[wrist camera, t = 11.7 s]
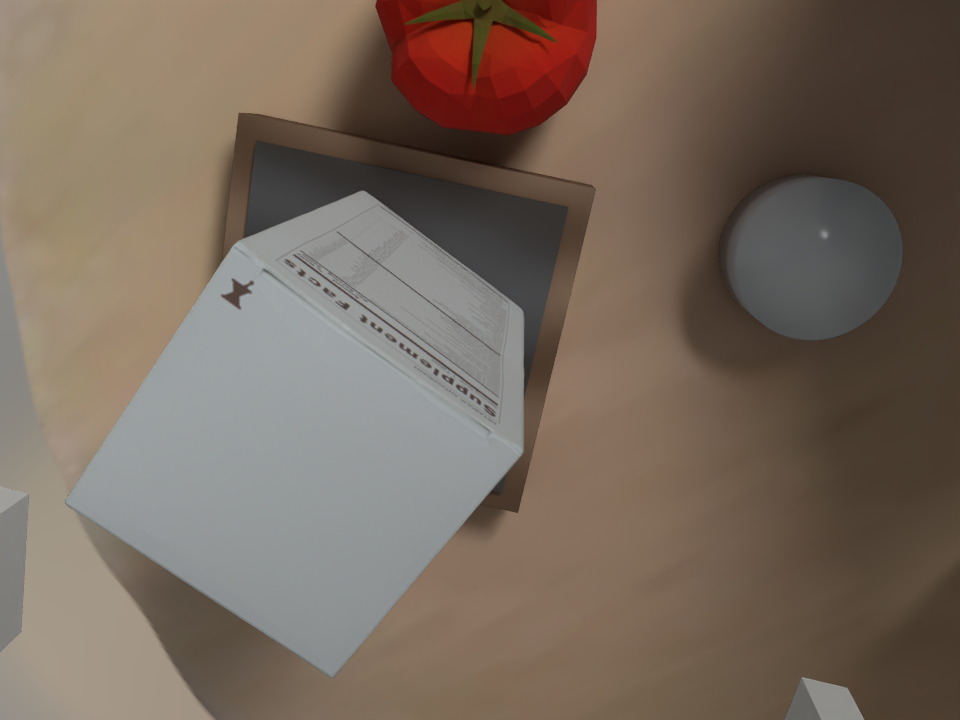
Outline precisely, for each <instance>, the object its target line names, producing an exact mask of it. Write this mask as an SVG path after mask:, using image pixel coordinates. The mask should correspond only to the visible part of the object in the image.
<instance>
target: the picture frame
mask: <svg viewBox="0 0 960 720" xmlns="http://www.w3.org/2000/svg"><path fill="white" fill-rule="evenodd" d="M362 190H363V191H365V192H367V193H368V194H370V195H371V196H373V197H374V198H376V199H377V200H378V201H380V202H381V203H382V204H384V205H385V206H386V207H388V208H389V209H390V210H392V211H393V212H394V213H395V214H397V215H398V216H399V217H401V218H402V219H403V220H405V221H406V222H407V223H409V224H410V225H411V226H413V227H414V228H415V229H417V230H418V231H419V232H421V233H422V234H423V235H425V236H426V237H427V238H429V239H430V240H431V241H433V242H434V243H435V244H437V245H438V246H439V247H441V248H442V249H443V250H445V251H446V252H447V253H449V254H450V255H451V256H453V257H454V258H455V259H457V260H458V261H459V262H461V263H462V264H464V265H465V266H466V267H468V268H469V269H470V270H472V271H473V272H474V273H476V274H477V275H478V276H480V277H481V278H482V279H484V280H485V281H486V282H488V283H489V284H490V285H492V286H493V287H494V288H496V289H497V290H498V291H499V292H501V293H502V294H503V295H505V296H506V297H507V298H509V299H510V300H511V301H512V302H514V303H515V304H516V305H517V306H519V307H520V308H521V309H522V310H523V312H524V359H523V361H524V450H523V454H522V456H521V457H520V458H519V460H518V461H517V462H516V463H515V464H514V465H513V467H512V468H511V469H510V470H509V471H508V472H507V473H506V475H505V476H504V477H503V478H502V479H501V480H500V482H499V483H498V484H497V485H496V486H495V487H494V488H493V490H492V491H491V492H490V493H489V494H488V495H487V496H486V498H485V499H484V500H483V501H482V502H481V503H480V505H484V506H488V507H493V508H498V509H502V510H507V511H512V512H516V513H518V510H519V506H520V502H521V498H522V494H523V490H524V485H525V481H526V477H527V473H528V469H529V465H530V461H531V456H532V452H533V448H534V444H535V440H536V436H537V431H538V427H539V423H540V419H541V415H542V411H543V407H544V402H545V398H546V394H547V390H548V386H549V382H550V378H551V373H552V369H553V365H554V361H555V357H556V353H557V348H558V344H559V340H560V336H561V332H562V328H563V324H564V319H565V315H566V311H567V307H568V303H569V299H570V294H571V290H572V286H573V282H574V278H575V274H576V270H577V265H578V261H579V257H580V253H581V249H582V245H583V241H584V236H585V232H586V228H587V224H588V220H589V216H590V211H591V207H592V203H593V199H594V195H595V191H596V189H595V188H594V187H593V186H592V185H588V184H584V183H579V182H574V181H570V180H565V179H560V178H555V177H551V176H546V175H541V174H537V173H532V172H527V171H523V170H518V169H513V168H509V167H504V166H499V165H495V164H490V163H485V162H480V161H476V160H471V159H466V158H462V157H457V156H452V155H448V154H443V153H438V152H434V151H429V150H424V149H420V148H415V147H410V146H406V145H401V144H396V143H391V142H387V141H382V140H377V139H373V138H368V137H363V136H359V135H354V134H349V133H345V132H340V131H335V130H331V129H326V128H321V127H316V126H312V125H307V124H302V123H298V122H293V121H288V120H284V119H279V118H274V117H270V116H265V115H260V114H251V113H239V116H238V124H237V133H236V142H235V151H234V159H233V168H232V177H231V186H230V194H229V203H228V212H227V221H226V230H225V238H224V247H223V256H222V261H223V260H224V258H225V257H226V255H227V254H228V252H229V251H230V249H231V248H232V246H233V245H234V244H235V243H236V242H237V241H239V240H242V239H244V238H246V237H249V236H252V235H254V234H257V233H259V232H262V231H264V230H266V229H269V228H271V227H274V226H276V225H279V224H281V223H284V222H286V221H288V220H291V219H293V218H296V217H298V216H301V215H304V214H306V213H309V212H311V211H314V210H316V209H318V208H320V207H323V206H325V205H328V204H330V203H333V202H336V201H338V200H340V199H342V198H345V197H347V196H350V195H352V194H355V193H357V192H359V191H362Z"/></svg>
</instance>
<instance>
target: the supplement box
mask: <svg viewBox="0 0 960 720" xmlns="http://www.w3.org/2000/svg"><path fill="white" fill-rule="evenodd" d="M523 359H524V312H523V310H522V309H521V308H520V307H519V306H517V305H516V304H515V303H514V302H512V301H511V300H510V299H509V298H507V297H506V296H505V295H503V294H502V293H501V292H499V291H498V290H497V289H496V288H494V287H493V286H492V285H490V284H489V283H488V282H486V281H485V280H484V279H482V278H481V277H480V276H478V275H477V274H476V273H474V272H473V271H472V270H470V269H469V268H468V267H466V266H465V265H464V264H462V263H461V262H459V261H458V260H457V259H455V258H454V257H453V256H451V255H450V254H449V253H447V252H446V251H445V250H443V249H442V248H441V247H439V246H438V245H437V244H435V243H434V242H433V241H431V240H430V239H429V238H427V237H426V236H425V235H423V234H422V233H421V232H419V231H418V230H417V229H415V228H414V227H413V226H411V225H410V224H409V223H407V222H406V221H405V220H403V219H402V218H401V217H399V216H398V215H397V214H395V213H394V212H393V211H392V210H390V209H389V208H388V207H386V206H385V205H384V204H382V203H381V202H380V201H378V200H377V199H376V198H374V197H373V196H371V195H370V194H368V193H367V192H365V191H363V190H362V191H359V192H357V193H355V194H352V195H350V196H347V197H345V198H342V199H340V200H338V201H336V202H333V203H330V204H328V205H325V206H323V207H320V208H318V209H316V210H314V211H311V212H309V213H306V214H304V215H301V216H298V217H296V218H293V219H291V220H288V221H286V222H284V223H281V224H279V225H276V226H274V227H271V228H269V229H266V230H264V231H262V232H259V233H257V234H254V235H252V236H249V237H246V238H244V239H242V240H239V241H237V242H236V243H235V244H234V245H233V246H232V248H231V249H230V251H229V252H228V254H227V255H226V257H225V258H224V260H223V261H222V263H221V264H220V266H219V267H218V269H217V270H216V272H215V273H214V275H213V276H212V278H211V280H210V281H209V283H208V284H207V286H206V287H205V289H204V290H203V292H202V293H201V295H200V296H199V298H198V299H197V301H196V302H195V304H194V305H193V307H192V308H191V310H190V311H189V313H188V314H187V316H186V318H185V319H184V321H183V322H182V324H181V325H180V327H179V328H178V330H177V331H176V333H175V334H174V336H173V337H172V339H171V340H170V342H169V343H168V345H167V346H166V348H165V349H164V351H163V352H162V354H161V356H160V357H159V359H158V360H157V362H156V363H155V365H154V366H153V368H152V369H151V371H150V372H149V374H148V375H147V377H146V378H145V380H144V381H143V383H142V384H141V386H140V388H139V389H138V391H137V392H136V394H135V395H134V397H133V398H132V400H131V401H130V403H129V404H128V406H127V407H126V409H125V410H124V412H123V413H122V415H121V416H120V418H119V419H118V421H117V422H116V424H115V426H114V427H113V429H112V430H111V432H110V433H109V435H108V436H107V438H106V439H105V441H104V442H103V444H102V445H101V447H100V448H99V450H98V451H97V453H96V454H95V456H94V457H93V459H92V460H91V462H90V463H89V465H88V466H87V468H86V469H85V471H84V473H83V474H82V476H81V477H80V479H79V480H78V482H77V483H76V485H75V487H74V488H73V489H72V491H71V492H70V494H69V495H68V497H67V498H66V499H65V504H66V505H67V506H68V507H70V508H71V509H73V510H75V511H76V512H78V513H79V514H81V515H83V516H84V517H86V518H87V519H89V520H90V521H92V522H94V523H95V524H97V525H98V526H100V527H101V528H103V529H105V530H106V531H108V532H109V533H111V534H112V535H114V536H115V537H117V538H118V539H120V540H121V541H123V542H125V543H126V544H128V545H129V546H131V547H132V548H134V549H135V550H137V551H138V552H140V553H141V554H143V555H145V556H146V557H148V558H149V559H151V560H152V561H154V562H155V563H157V564H158V565H160V566H161V567H163V568H164V569H166V570H168V571H169V572H171V573H172V574H174V575H175V576H177V577H178V578H180V579H181V580H183V581H184V582H186V583H187V584H189V585H190V586H192V587H193V588H195V589H196V590H198V591H199V592H201V593H202V594H204V595H205V596H207V597H209V598H210V599H212V600H213V601H215V602H216V603H218V604H219V605H221V606H222V607H224V608H225V609H227V610H229V611H230V612H232V613H233V614H235V615H236V616H238V617H240V618H241V619H243V620H244V621H246V622H247V623H249V624H250V625H252V626H253V627H255V628H256V629H258V630H259V631H261V632H262V633H264V634H266V635H267V636H269V637H270V638H272V639H273V640H275V641H276V642H278V643H280V644H281V645H283V646H284V647H286V648H287V649H289V650H290V651H291V652H293V653H294V654H296V655H297V656H299V657H300V658H302V659H303V660H305V661H306V662H308V663H309V664H311V665H312V666H314V667H315V668H317V669H318V670H320V671H321V672H323V673H324V674H326V675H327V676H328V677H330V678H334V676H335V675H336V674H337V673H338V672H339V670H340V669H341V668H342V667H343V666H344V664H345V663H346V662H347V661H348V660H349V659H350V657H351V656H352V655H353V654H354V653H355V651H356V650H357V649H358V648H359V647H360V646H361V644H362V643H363V642H364V641H365V640H366V638H367V637H368V636H369V635H370V634H371V632H372V631H373V630H374V629H375V628H376V626H377V625H378V624H379V623H380V622H381V620H382V619H383V618H384V617H385V616H386V614H387V613H388V612H389V611H390V610H391V608H392V607H393V606H394V605H395V604H396V602H397V601H398V600H399V599H400V598H401V596H402V595H403V594H404V593H405V592H406V591H407V589H408V588H409V587H410V586H411V585H412V583H413V582H414V581H415V580H416V579H417V578H418V576H419V575H420V574H421V573H422V572H423V570H424V569H425V568H426V567H427V566H428V565H429V563H430V562H431V561H432V560H433V559H434V557H435V556H436V555H437V554H438V553H439V552H440V550H441V549H442V548H443V547H444V546H445V545H446V543H447V542H448V541H449V540H450V539H451V537H452V536H453V535H454V534H455V533H456V532H457V530H458V529H459V528H460V527H461V526H462V524H463V523H464V522H465V521H466V520H467V518H468V517H469V516H470V515H471V514H472V513H473V511H474V510H475V509H476V508H477V507H478V506H479V505H480V503H481V502H482V501H483V500H484V499H485V498H486V496H487V495H488V494H489V493H490V492H491V491H492V490H493V488H494V487H495V486H496V485H497V484H498V483H499V482H500V480H501V479H502V478H503V477H504V476H505V475H506V473H507V472H508V471H509V470H510V469H511V468H512V467H513V465H514V464H515V463H516V462H517V461H518V460H519V458H520V457H521V456H522V454H523V450H524V361H523Z"/></svg>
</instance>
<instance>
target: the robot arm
mask: <svg viewBox="0 0 960 720" xmlns="http://www.w3.org/2000/svg"><path fill="white" fill-rule="evenodd" d="M28 504H29V493H24V492H20V491H16V490H12V489H7V488H4V487H0V652H1V651H2V650H3V649H4V648H5V647H6V646H7V645H8V644H9V643H10V642H11V641H12V640H13V639H14V638H15V637H16V636H17V635H18V634H19V633H20V632H21V627H22V609H23V592H24V574H25V573H24V572H25V556H26V539H27V521H28ZM785 720H864V718H863V716H862V714H861V713H860V711H859V709H858V707H857V705H856V703H855V701H854V699H853V697H852V696H851V694H850V692H849V690H848V688H846V687H842V686H838V685H833V684H829V683H825V682H821V681H816V680H812V679H808V678H804V677H801V680H800V682H799V685H798V687H797V690H796V692H795V695H794V697H793V700H792V702H791V705H790V707H789V710H788V712H787V715H786V717H785Z"/></svg>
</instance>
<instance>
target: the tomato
mask: <svg viewBox="0 0 960 720" xmlns="http://www.w3.org/2000/svg"><path fill="white" fill-rule="evenodd" d="M376 9H377V12H378V15H379V18H380V21H381V23H382V26H383V29H384V32H385V35H386V37H387V40H388V43H389V46H390V48H391V51H392V73H391V80H392V81H393V83H394V84H395V86H396V87H397V88H398V89H399V91H400V92H401V93H402V94H403V95H404V97H405V98H406V99H407V100H408V102H409V103H410V104H411V105H412V106H413V108H414V109H415V110H416V111H418V112H420V113H421V114H423V115H424V116H426V117H428V118H429V119H431V120H432V121H434V122H436V123H437V124H439V125H440V126H442V127H444V128H453V129H462V130H470V131H479V132H487V133H495V134H503V135H511V134H514V133H517V132H520V131H523V130H526V129H529V128H532V127H535V126H538V125H540V124H542V123H543V122H544V121H545V120H547V119H548V118H549V117H551V116H552V115H553V114H555V113H556V112H557V111H559V110H560V109H561V108H562V107H564V106H565V105H566V104H567V103H568V102H569V100H570V99H571V97H572V96H573V94H574V93H575V91H576V90H577V88H578V87H579V85H580V84H581V82H582V81H583V79H584V78H585V76H586V75H587V71H588V67H589V63H590V60H591V56H592V52H593V48H594V44H595V41H596V19H597V0H377V2H376Z"/></svg>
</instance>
